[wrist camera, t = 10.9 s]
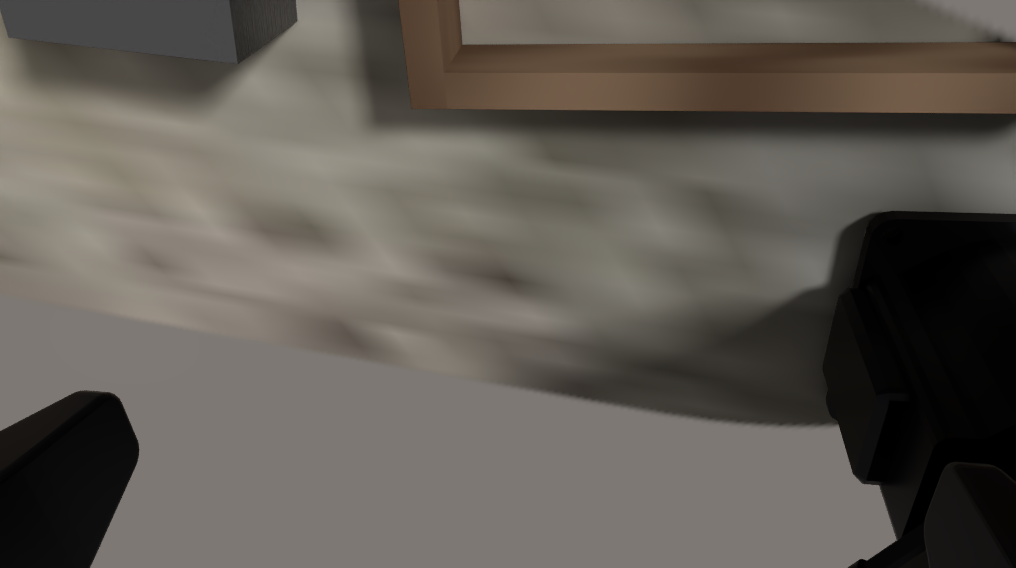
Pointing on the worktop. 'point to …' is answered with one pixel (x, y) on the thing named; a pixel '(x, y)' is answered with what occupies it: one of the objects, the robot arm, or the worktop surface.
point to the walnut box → (700, 73)
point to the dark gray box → (154, 25)
